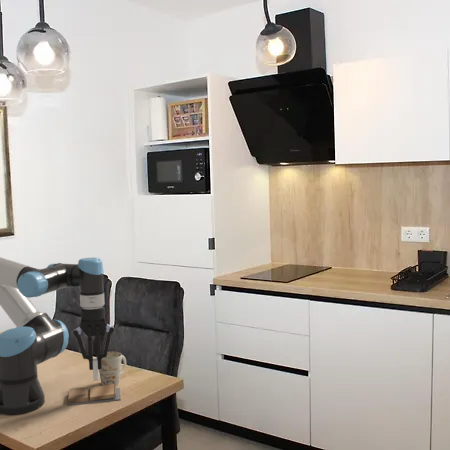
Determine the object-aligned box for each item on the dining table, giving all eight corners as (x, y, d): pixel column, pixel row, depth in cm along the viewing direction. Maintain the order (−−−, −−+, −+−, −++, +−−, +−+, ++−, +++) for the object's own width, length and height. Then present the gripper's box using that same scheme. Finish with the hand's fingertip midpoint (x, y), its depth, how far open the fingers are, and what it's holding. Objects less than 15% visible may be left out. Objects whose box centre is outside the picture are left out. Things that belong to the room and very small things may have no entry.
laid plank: (68, 403, 180) (68, 399, 180) (70, 392, 189) (70, 389, 189) (89, 401, 181) (88, 397, 181) (90, 391, 190) (89, 387, 190)
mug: (92, 386, 196) (91, 357, 195) (116, 374, 207) (115, 346, 206) (112, 389, 192) (111, 360, 191) (135, 377, 203) (134, 349, 202)
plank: (90, 400, 181) (89, 397, 181) (91, 390, 190) (90, 386, 190) (116, 397, 183) (115, 393, 183) (115, 387, 192) (115, 383, 192)
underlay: (68, 405, 180) (68, 404, 180) (70, 393, 190) (70, 392, 189) (120, 400, 183) (120, 398, 183) (120, 388, 193) (119, 387, 193)
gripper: (70, 310, 179) (74, 385, 181) (113, 307, 181) (116, 381, 183) (72, 305, 186) (75, 377, 188) (113, 302, 189) (116, 373, 191)
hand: (96, 379), depth 186 cm, fingers closed
